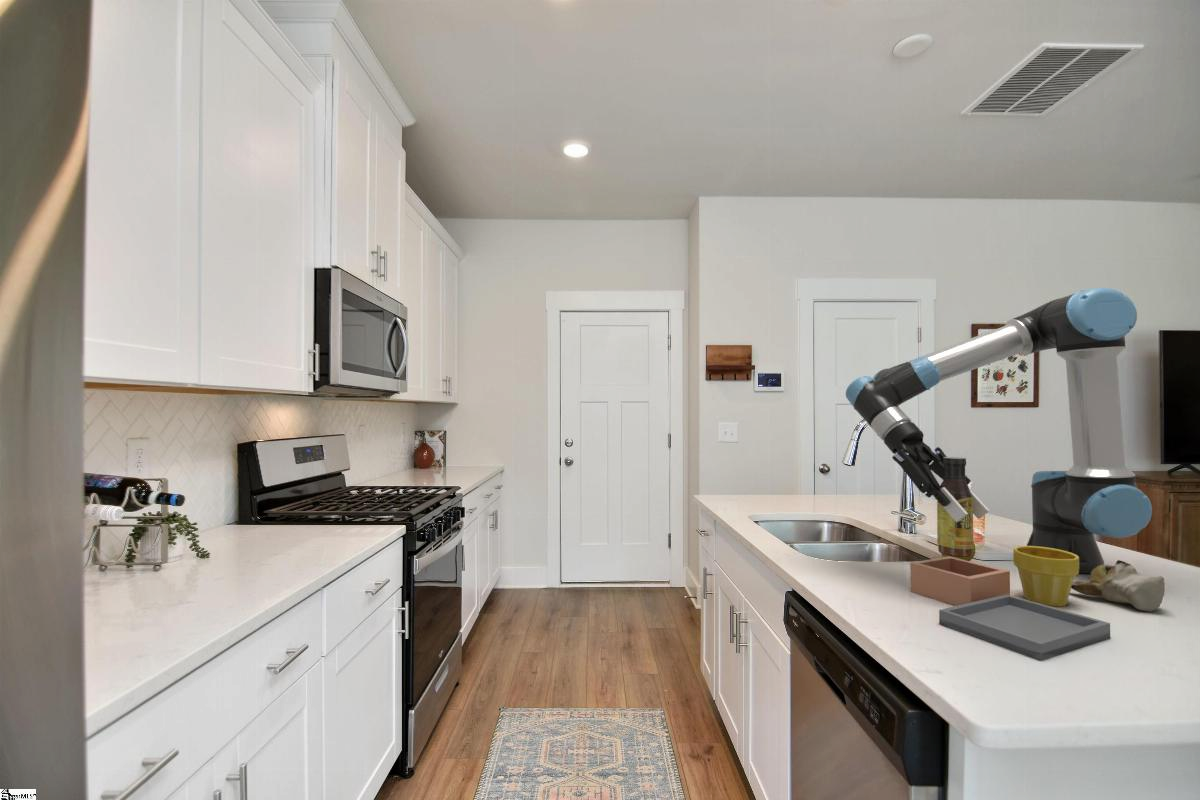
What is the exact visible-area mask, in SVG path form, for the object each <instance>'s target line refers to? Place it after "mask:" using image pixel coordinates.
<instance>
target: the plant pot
mask: <svg viewBox="0 0 1200 800" xmlns="http://www.w3.org/2000/svg"><path fill="white" fill-rule="evenodd" d="M1012 559H1013V565H1014V566H1015V567H1017V571H1018V574H1019V578H1020V579H1019V580H1020V584H1021V587H1022V592H1023V596H1024V599H1025V600H1029V601H1032V602H1036V603H1040V604H1043V605H1047V606H1050V607H1065V606H1066V605H1068V601H1069V598H1070V597H1069V596H1070V592H1071V589H1072V588H1071V586H1072V583H1073V582H1074V579H1075V576H1078V575H1079V574H1080V573H1079V556H1077V555H1076V554H1073V553H1070V552H1067V551H1063V550H1059V549H1053V548H1047V547H1038V546H1027V545H1019V546H1015V547H1014V548H1013V557H1012Z"/></svg>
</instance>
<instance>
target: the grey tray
mask: <svg viewBox="0 0 1200 800" xmlns="http://www.w3.org/2000/svg"><path fill="white" fill-rule="evenodd" d="M938 610H939V611H938V613H939V614H938V620H939V623H938V624H939V625H940V626H944V627H947V628H950V629H952V630H955V631H958V632H960V633H963V634H966V635H969V636H972V637H974V638H978V639H979V640H980V639H981V640H983V641H985V642H988V643H992V644H994V645H996V646H999V647H1001V648H1005V649H1008V650H1010V651H1013V652H1016V653H1018V654H1022V655H1024V656H1027V657H1030V658H1033V659H1036V660H1039V661H1045V660H1047V659H1050V658H1053V657H1056V656H1060V655H1063V654H1066V653H1069V652H1072V651H1076V650H1078V649H1081V648H1084V647H1088V646H1091V645H1093V644H1097V643H1100V642H1103V641H1106V640H1109V639H1111V622H1108V621H1104V620H1099V619H1096V618H1093V617H1090V616H1086V615H1083V614H1078V613H1075V612H1072V611H1068V610H1064V609H1062V608H1057V607H1055V606H1048V605H1043V604H1040V603H1036V602H1032V601H1029V600H1027V599H1026V598H1021V597H1017V596H1014V595H1012V594H1010V595H1002V596H998V597H993V598H989V599H985V600H980V601H976V602H971V603H967V604H963V605H958V606H955V605H953V606H951V607H947V608H943V609H942V608H941V609H938Z"/></svg>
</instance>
